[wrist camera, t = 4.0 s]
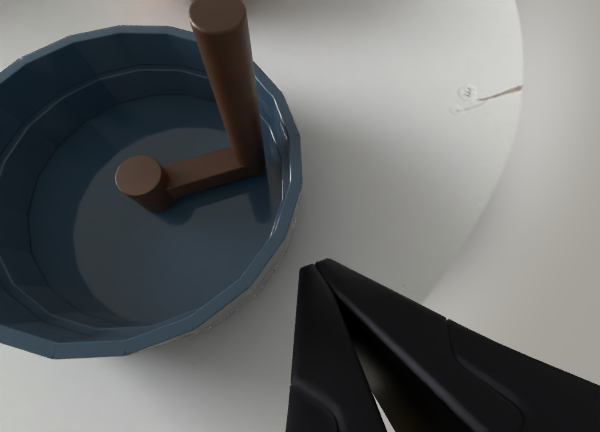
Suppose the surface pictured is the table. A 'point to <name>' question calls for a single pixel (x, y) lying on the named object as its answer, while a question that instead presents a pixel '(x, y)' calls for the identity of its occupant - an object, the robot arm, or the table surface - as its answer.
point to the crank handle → (232, 105)
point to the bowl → (122, 209)
